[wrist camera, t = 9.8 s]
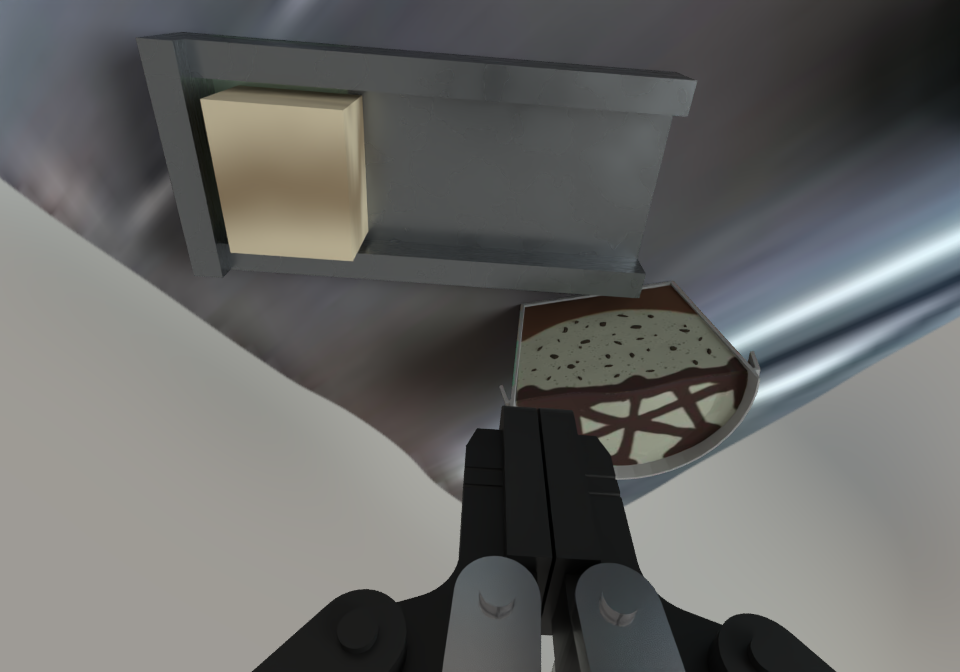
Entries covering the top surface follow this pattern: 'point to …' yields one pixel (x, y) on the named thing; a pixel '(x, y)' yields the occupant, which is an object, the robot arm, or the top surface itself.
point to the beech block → (289, 170)
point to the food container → (634, 375)
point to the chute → (443, 160)
